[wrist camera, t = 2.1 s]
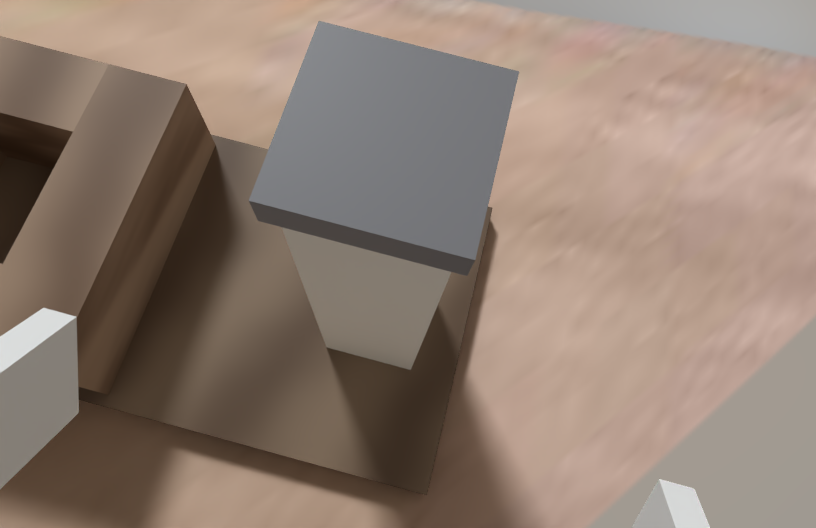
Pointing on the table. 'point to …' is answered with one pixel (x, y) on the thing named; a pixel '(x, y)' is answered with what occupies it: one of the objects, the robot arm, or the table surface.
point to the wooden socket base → (192, 277)
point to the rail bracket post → (383, 182)
